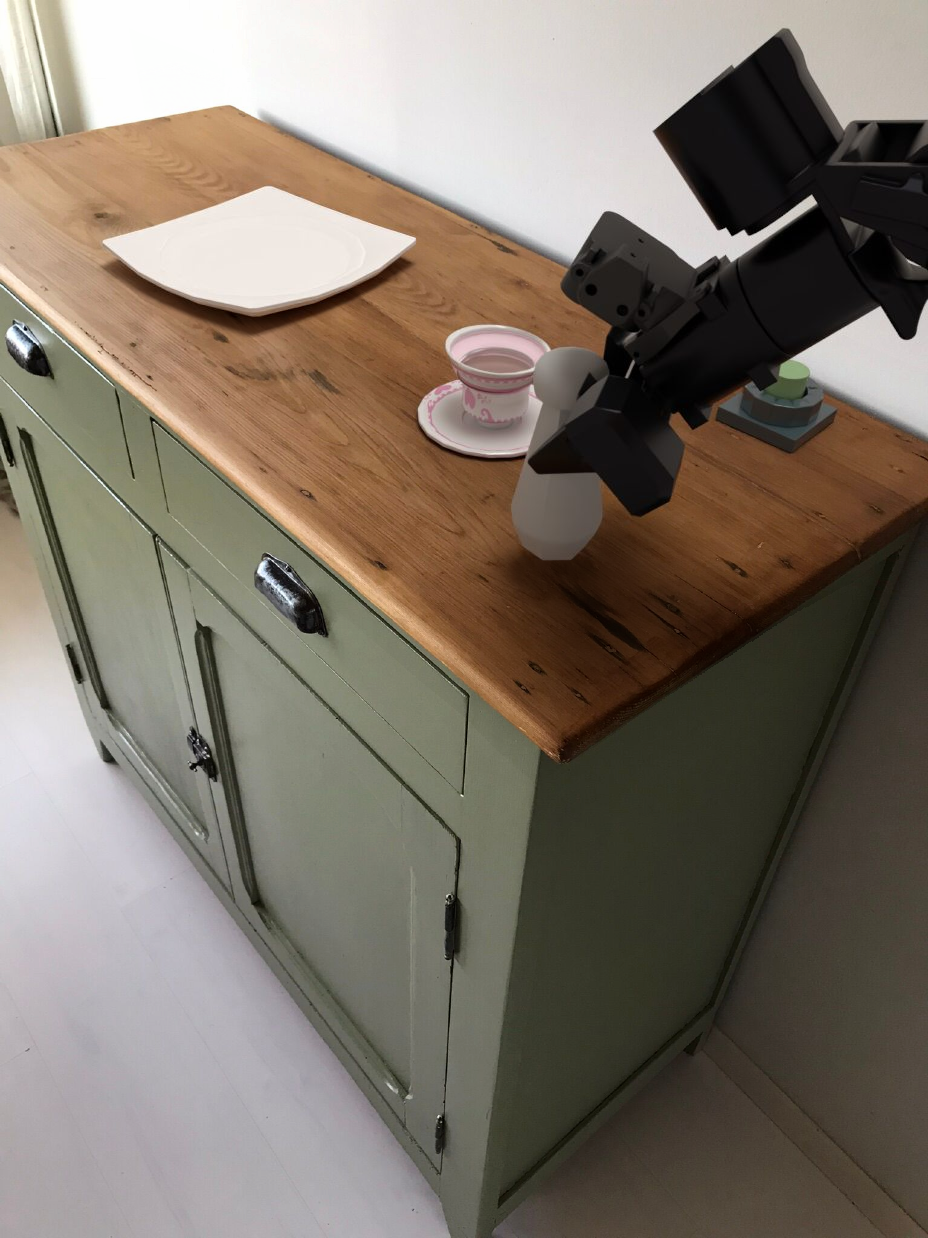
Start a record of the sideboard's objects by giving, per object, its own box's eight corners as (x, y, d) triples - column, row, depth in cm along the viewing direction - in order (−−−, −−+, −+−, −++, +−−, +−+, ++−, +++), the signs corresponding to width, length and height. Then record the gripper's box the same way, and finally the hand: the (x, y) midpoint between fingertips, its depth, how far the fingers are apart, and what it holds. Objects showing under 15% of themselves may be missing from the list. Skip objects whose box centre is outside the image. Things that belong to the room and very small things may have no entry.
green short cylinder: (810, 392, 77) (817, 368, 75) (790, 406, 75) (797, 382, 74) (775, 377, 78) (781, 354, 77) (755, 391, 77) (761, 367, 75)
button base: (833, 421, 79) (844, 388, 77) (791, 453, 75) (801, 420, 73) (759, 389, 82) (768, 357, 80) (715, 419, 78) (722, 386, 76)
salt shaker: (552, 582, 59) (573, 394, 50) (490, 538, 62) (499, 354, 53) (616, 545, 62) (646, 361, 53) (553, 504, 65) (572, 324, 56)
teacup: (595, 417, 78) (605, 347, 73) (504, 480, 71) (509, 406, 67) (481, 368, 83) (484, 300, 79) (386, 421, 76) (384, 349, 72)
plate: (255, 346, 85) (252, 317, 83) (89, 267, 96) (83, 241, 94) (433, 264, 99) (434, 238, 97) (271, 204, 110) (269, 180, 108)
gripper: (703, 119, 52) (500, 285, 62) (637, 242, 39) (393, 427, 49) (813, 282, 56) (604, 414, 65) (786, 445, 42) (530, 579, 52)
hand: (540, 450), depth 58 cm, fingers closed on salt shaker, 3 cm apart
